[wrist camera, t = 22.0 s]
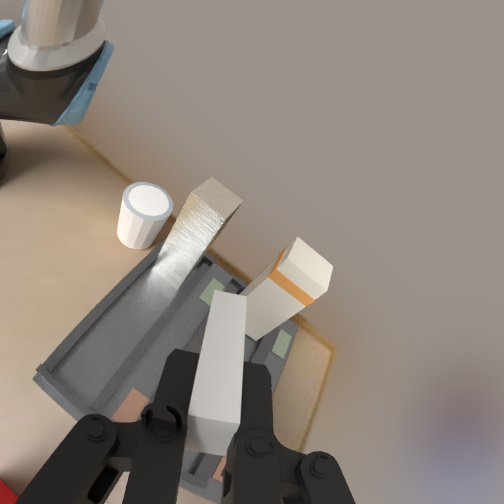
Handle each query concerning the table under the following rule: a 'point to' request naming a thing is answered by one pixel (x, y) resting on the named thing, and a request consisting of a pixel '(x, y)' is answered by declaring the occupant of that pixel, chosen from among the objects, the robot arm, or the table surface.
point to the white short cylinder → (143, 214)
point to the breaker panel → (158, 331)
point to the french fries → (7, 494)
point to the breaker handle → (285, 288)
